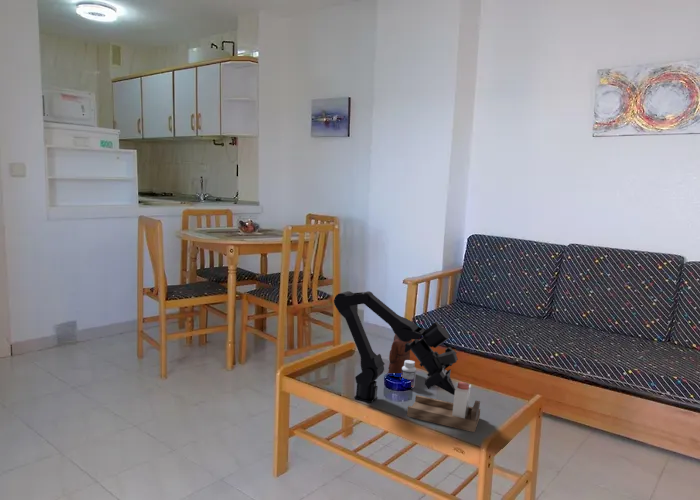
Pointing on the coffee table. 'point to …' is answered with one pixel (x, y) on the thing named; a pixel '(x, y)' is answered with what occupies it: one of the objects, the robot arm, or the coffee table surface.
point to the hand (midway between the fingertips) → (455, 394)
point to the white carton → (461, 400)
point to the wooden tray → (443, 413)
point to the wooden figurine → (398, 355)
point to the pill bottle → (409, 371)
